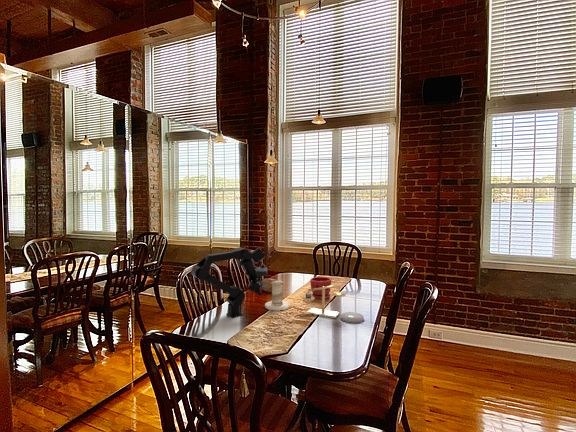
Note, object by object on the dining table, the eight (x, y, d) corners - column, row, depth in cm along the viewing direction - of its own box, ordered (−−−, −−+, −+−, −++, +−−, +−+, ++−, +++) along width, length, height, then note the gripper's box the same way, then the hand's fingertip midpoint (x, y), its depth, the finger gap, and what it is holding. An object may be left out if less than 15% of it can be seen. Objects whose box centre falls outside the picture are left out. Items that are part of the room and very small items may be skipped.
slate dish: (355, 324, 176) (355, 321, 176) (335, 318, 185) (335, 315, 185) (368, 318, 185) (368, 316, 185) (349, 313, 193) (349, 310, 193)
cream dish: (276, 312, 193) (276, 310, 193) (260, 306, 203) (260, 304, 202) (294, 307, 203) (294, 304, 202) (277, 301, 212) (277, 299, 212)
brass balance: (300, 312, 193) (300, 281, 192) (304, 308, 199) (305, 279, 198) (343, 319, 183) (344, 287, 182) (346, 315, 190) (347, 284, 188)
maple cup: (281, 306, 198) (281, 284, 197) (269, 305, 200) (269, 283, 199) (284, 302, 205) (284, 281, 204) (273, 302, 206) (273, 280, 206)
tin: (260, 290, 236) (260, 278, 236) (263, 289, 239) (263, 277, 239) (280, 293, 229) (280, 280, 229) (282, 292, 232) (282, 279, 232)
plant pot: (330, 294, 228) (330, 276, 227) (331, 300, 215) (331, 281, 214) (310, 293, 229) (310, 275, 229) (309, 299, 216) (310, 280, 216)
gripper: (262, 270, 182) (274, 294, 187) (263, 255, 200) (274, 277, 205) (243, 278, 183) (255, 302, 188) (245, 262, 201) (256, 284, 206)
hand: (261, 290), depth 197 cm, fingers open, 9 cm apart
